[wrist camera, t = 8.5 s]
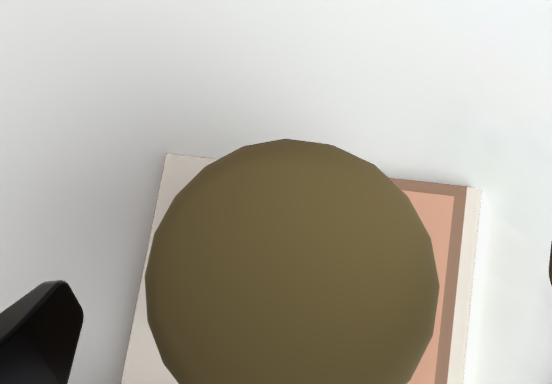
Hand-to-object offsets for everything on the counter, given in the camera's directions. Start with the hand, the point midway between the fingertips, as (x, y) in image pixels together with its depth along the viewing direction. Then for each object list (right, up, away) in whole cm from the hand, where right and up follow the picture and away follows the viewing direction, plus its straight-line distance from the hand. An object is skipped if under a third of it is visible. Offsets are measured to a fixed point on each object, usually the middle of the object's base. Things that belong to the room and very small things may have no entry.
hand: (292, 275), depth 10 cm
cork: (+2, -2, +9) cm, 9 cm away
